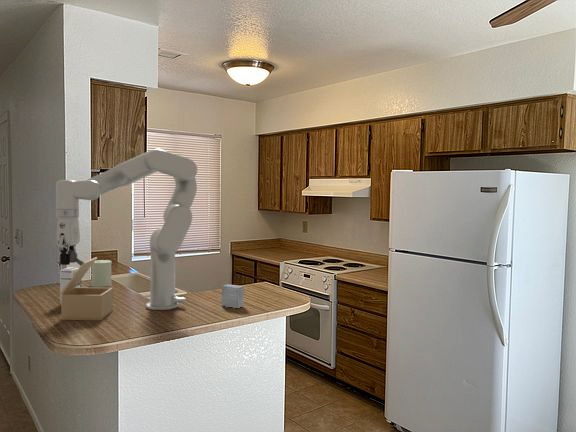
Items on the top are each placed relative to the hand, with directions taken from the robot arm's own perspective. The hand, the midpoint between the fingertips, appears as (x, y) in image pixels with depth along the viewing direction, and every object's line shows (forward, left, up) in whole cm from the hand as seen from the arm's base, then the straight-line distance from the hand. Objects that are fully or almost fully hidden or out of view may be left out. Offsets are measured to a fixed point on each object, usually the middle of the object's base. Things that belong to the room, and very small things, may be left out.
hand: (67, 263), depth 175 cm
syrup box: (+5, -16, -20) cm, 26 cm away
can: (+5, -53, -20) cm, 57 cm away
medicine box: (-60, -14, -20) cm, 65 cm away
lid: (-4, 0, -5) cm, 6 cm away
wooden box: (-7, 0, -19) cm, 21 cm away
